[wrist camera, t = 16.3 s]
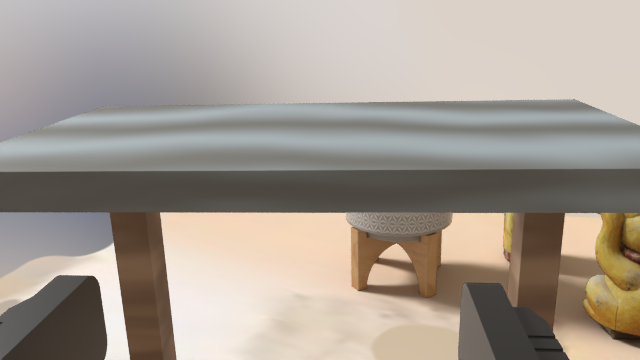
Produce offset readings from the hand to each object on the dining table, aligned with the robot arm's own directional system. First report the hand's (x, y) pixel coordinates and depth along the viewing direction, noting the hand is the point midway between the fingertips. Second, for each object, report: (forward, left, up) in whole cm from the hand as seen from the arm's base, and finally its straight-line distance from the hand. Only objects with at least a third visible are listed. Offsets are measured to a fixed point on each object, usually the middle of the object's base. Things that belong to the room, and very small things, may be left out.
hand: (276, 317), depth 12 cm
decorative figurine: (+52, +5, -26) cm, 58 cm away
